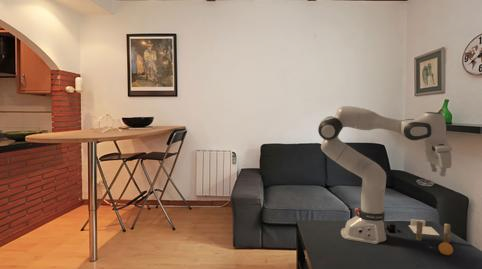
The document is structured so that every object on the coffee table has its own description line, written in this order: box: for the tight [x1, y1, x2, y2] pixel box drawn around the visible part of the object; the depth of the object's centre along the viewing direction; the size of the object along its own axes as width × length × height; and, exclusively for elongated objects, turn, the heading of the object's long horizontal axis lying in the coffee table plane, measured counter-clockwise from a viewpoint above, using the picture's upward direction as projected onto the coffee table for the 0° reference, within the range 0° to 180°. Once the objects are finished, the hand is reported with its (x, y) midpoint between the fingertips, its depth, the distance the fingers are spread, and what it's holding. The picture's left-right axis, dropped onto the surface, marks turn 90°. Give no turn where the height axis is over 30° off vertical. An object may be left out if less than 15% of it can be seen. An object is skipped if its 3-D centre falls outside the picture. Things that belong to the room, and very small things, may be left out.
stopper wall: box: [410, 218, 426, 226], centre depth 172 cm, size 7×2×3 cm, turn 76°
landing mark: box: [407, 224, 440, 236], centre depth 165 cm, size 12×12×1 cm
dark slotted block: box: [384, 221, 399, 234], centre depth 165 cm, size 12×7×5 cm, turn 176°
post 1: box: [415, 222, 423, 241], centre depth 152 cm, size 3×3×9 cm
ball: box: [438, 241, 454, 256], centre depth 136 cm, size 6×6×6 cm
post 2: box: [443, 223, 452, 244], centre depth 149 cm, size 3×3×9 cm
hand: (438, 173), depth 142 cm, fingers open, 8 cm apart
